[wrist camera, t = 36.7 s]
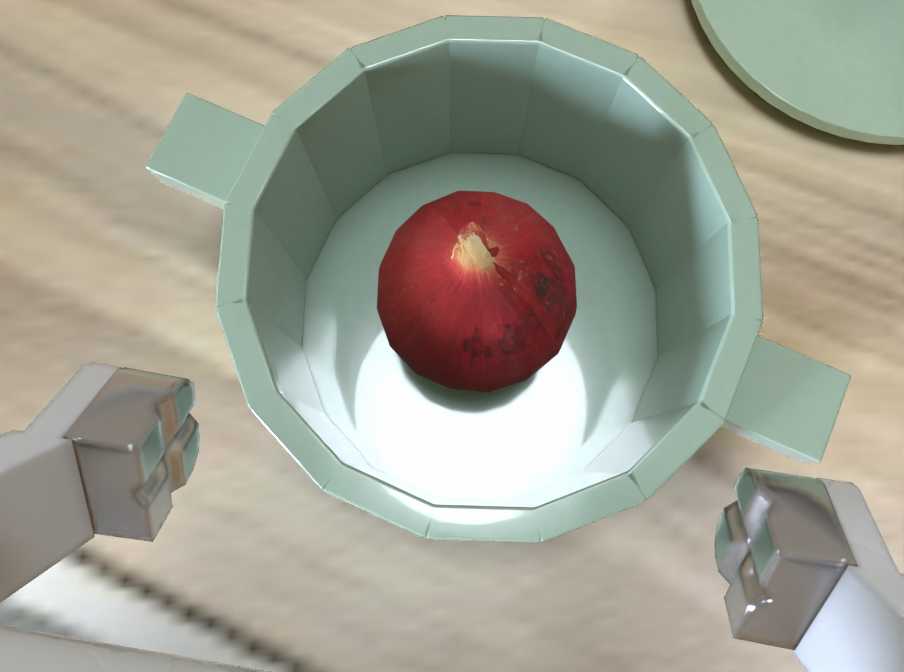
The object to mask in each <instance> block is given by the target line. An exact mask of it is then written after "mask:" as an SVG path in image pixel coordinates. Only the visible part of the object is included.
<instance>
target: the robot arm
mask: <svg viewBox="0 0 904 672" xmlns="http://www.w3.org/2000/svg"><path fill="white" fill-rule="evenodd" d="M195 402H196V395H195V389H194V383H193V382H191V381H190V380H189V379H186V378H180V377H175V376H169V375H164V374H158V373H153V372H147V371H142V370H136V369H131V368H126V367H124V368H121V367H117V366H111V365H106V364H100V363H95V362H91V363H88V364H85V365H83V366H82V367H81V368H80V369H79V370H78V371H77V372H76V373H75V374H74V375H73V377H72V378H71V379H70V380H69V381H68V382H67V383H66V384H65V386H64V387H63V388H62V389H61V390H60V391H59V392H58V393H57V395H56V396H55V397H54V398H53V399H52V400H51V401H50V402H49V404H48V405H47V406H46V407H45V408H44V409H43V410H42V411H41V413H40V414H39V415H38V416H37V417H36V418H35V419H34V420H33V422H32V423H31V424H30V425H29V426H28V427H27V428H26V429H25V431H24V432H22V431H15V430H13V431H10V432H8V433H6V434H3V435H1V436H0V602H2V601H3V600H5V599H6V598H8V597H9V596H10V595H12V594H13V593H15V592H16V591H18V590H19V589H20V588H22V587H23V586H25V585H26V584H28V583H29V582H30V581H32V580H33V579H35V578H36V577H38V576H39V575H41V574H42V573H43V572H45V571H46V570H48V569H49V568H51V567H52V566H53V565H55V564H56V563H58V562H59V561H61V560H62V559H63V558H65V557H66V556H68V555H69V554H71V553H72V552H74V551H75V550H76V549H78V548H79V547H81V546H82V545H84V544H85V543H86V542H88V541H89V540H91V539H92V538H94V534H100V535H108V536H115V537H122V538H129V539H137V540H144V541H151V542H153V541H154V539H155V537H156V535H157V534H158V532H159V530H160V528H161V527H162V525H163V523H164V521H165V520H166V518H167V516H168V514H169V513H170V511H171V509H172V507H173V505H172V497H171V492H173V491H175V490H177V489H178V488H180V487H182V486H184V485H185V484H186V482H187V481H188V479H189V477H190V475H191V473H192V471H193V469H194V466H195V462H196V459H197V455H198V452H199V442H200V431H199V423H198V422H197V421H196V420H195V419H194V418H193V416H192V415H191V414H190V413H189V412H190V410H191V409H192V407H193V405H194V404H195ZM734 490H735V494H736V497H737V501H735V502H734V503H732V504H730V505H729V506H727V507H725V508H724V509H723V512H722V514H721V517H720V519H719V522H718V524H717V530H716V537H715V558H716V563H717V568H718V572H719V573H720V574H721V575H722V576H723V577H724V578H725V579H726V580H727V582H728V583H729V584H730V586H729V589H728V591H727V593H726V595H725V597H724V600H725V604H726V608H727V613H728V617H729V622H730V626H731V630H732V635H733V638H735V639H740V640H745V641H750V642H755V643H761V644H766V645H771V646H776V647H781V648H786V649H792V650H795V651H794V654H795V655H796V657H797V658H798V659H799V661H800V662H801V663H802V664H803V666H804V667H805V668H806V670H807V671H808V672H904V575H903V574H899V572H898V569H897V567H896V565H895V563H894V561H893V559H892V557H891V555H890V553H889V550H888V548H887V546H886V544H885V542H884V540H883V538H882V536H881V533H880V531H879V529H878V527H877V525H876V523H875V521H874V519H873V517H872V514H871V512H870V510H869V508H868V506H867V504H866V502H865V500H864V497H863V495H862V493H861V491H860V489H859V488H858V487H857V486H856V485H855V484H853V483H851V482H844V481H836V480H829V479H822V478H811V477H804V476H798V475H791V474H784V473H778V472H771V471H765V470H758V469H752V468H745V469H744V470H743V471H742V472H741V473H740V475H739V477H738V479H737V481H736V483H735V485H734ZM0 672H270V671H264V670H259V669H253V668H247V667H241V666H235V665H229V664H224V663H218V662H212V661H206V660H200V659H195V658H189V657H183V656H177V655H171V654H165V653H160V652H154V651H148V650H142V649H136V648H130V647H124V646H119V645H113V644H107V643H101V642H95V641H89V640H83V639H77V638H72V637H66V636H60V635H54V634H48V633H42V632H36V631H31V630H25V629H19V628H13V627H7V626H1V625H0Z"/></svg>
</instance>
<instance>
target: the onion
mask: <svg viewBox="0 0 904 672" xmlns="http://www.w3.org/2000/svg"><path fill="white" fill-rule="evenodd" d="M576 309H577V298H576V279H575V266H574V264H573V262H572V260H571V258H570V256H569V254H568V253H567V251H566V249H565V247H564V245H563V243H562V241H561V240H560V238H559V236H558V234H557V232H556V230H555V228H554V227H553V226H552V225H551V224H550V223H549V222H548V221H546V220H545V219H544V218H543V217H542V216H541V215H540V214H539V213H537V212H536V211H535V210H534V209H533V208H532V207H531V206H530V205H528V204H527V203H524V202H521V201H518V200H515V199H513V198H510V197H507V196H504V195H501V194H499V193H496V192H483V191H459V190H458V191H456V192H453V193H451V194H448V195H446V196H444V197H441V198H439V199H437V200H434V201H432V202H429V203H427V204H425V205H422V206H421V207H420V208H419V209H418V210H417V211H416V212H415V213H414V214H413V215H412V216H411V217H410V218H409V219H407V220H406V221H405V222H404V223H403V224H402V225H401V226H400V227H399V228H398V229H397V230H396V231H395V234H394V236H393V238H392V240H391V242H390V244H389V247H388V249H387V251H386V253H385V255H384V257H383V260H382V262H381V264H380V267H379V275H378V294H377V311H378V314H379V317H380V319H381V322H382V325H383V328H384V331H385V334H386V337H387V340H388V342H389V345H390V347H391V348H392V349H393V350H394V351H395V352H396V353H397V354H398V355H399V356H400V357H401V358H402V359H403V360H404V361H405V362H406V363H407V365H408V366H409V367H410V368H411V369H412V370H413V371H414V372H415V373H416V374H417V375H420V376H422V377H424V378H427V379H429V380H431V381H434V382H436V383H438V384H440V385H443V386H445V387H447V388H450V389H456V390H467V391H478V392H491V391H494V390H497V389H501V388H504V387H507V386H510V385H513V384H516V383H520V382H523V381H526V380H527V379H529V378H530V377H531V376H532V375H533V374H534V373H536V372H537V371H538V370H539V369H540V368H542V367H543V366H544V365H545V364H546V363H548V362H549V361H550V360H551V359H552V358H554V357H555V356H556V355H557V354H558V353H559V351H560V349H561V347H562V344H563V342H564V340H565V337H566V335H567V333H568V331H569V328H570V326H571V324H572V321H573V319H574V317H575V314H576Z"/></svg>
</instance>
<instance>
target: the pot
mask: <svg viewBox="0 0 904 672" xmlns="http://www.w3.org/2000/svg"><path fill="white" fill-rule="evenodd" d="M712 125H713V124H712V122H711V121H710V120H709V119H708V118H707V117H706V116H704V115H703V114H702V113H701V112H700V111H699V110H698V109H697V108H696V107H695V106H694V105H692V104H691V103H690V102H689V101H688V100H687V99H686V98H685V97H684V96H683V95H682V94H681V93H679V92H678V91H677V90H676V89H675V88H674V87H673V86H672V85H671V84H670V83H669V82H668V81H666V80H665V79H664V78H663V77H662V76H661V75H660V74H659V73H658V72H657V71H656V70H655V69H653V68H652V67H651V66H650V65H649V64H648V63H647V62H646V61H645V60H644V59H643V58H641V57H638V55H637V54H635V53H633V52H630V51H628V50H625V49H623V48H620V47H618V46H615V45H613V44H610V43H608V42H605V41H603V40H600V39H598V38H595V37H593V36H590V35H588V34H585V33H583V32H580V31H578V30H575V29H573V28H570V27H568V26H565V25H563V24H560V23H558V22H555V21H553V20H550V19H548V18H546V19H545V20H544V18H538V17H497V16H457V15H446V16H445V17H443V16H441V17H438V18H435V19H432V20H429V21H426V22H423V23H421V24H418V25H415V26H412V27H409V28H406V29H403V30H400V31H397V32H395V33H392V34H389V35H386V36H383V37H380V38H377V39H374V40H371V41H368V42H366V43H363V44H360V45H357V46H354V47H352V48H351V49H349V48H348V49H347V50H345V51H344V52H343V53H342V54H341V55H340V56H338V57H337V58H336V59H335V60H334V61H332V62H331V63H330V64H329V65H328V66H326V67H325V68H324V69H323V70H322V71H321V72H319V73H318V74H317V75H316V76H315V77H313V78H312V79H311V80H310V81H309V82H307V83H306V84H305V85H304V86H303V87H302V88H300V89H299V90H298V91H297V92H296V93H294V94H293V95H292V96H291V97H290V98H288V99H287V100H286V101H285V102H284V103H283V104H281V105H280V106H279V107H278V108H277V109H275V110H274V111H273V114H272V115H271V116H270V118H269V120H268V122H267V124H266V125H265V126H264V125H262V124H260V123H257V122H255V121H252V120H250V119H248V118H245V117H243V116H241V115H238V114H236V113H234V112H231V111H229V110H227V109H224V108H222V107H220V106H217V105H215V104H213V103H210V102H208V101H205V100H203V99H201V98H198V97H196V96H194V95H191V94H189V93H186V95H185V96H184V98H183V100H182V102H181V104H180V105H179V107H178V109H177V111H176V113H175V114H174V116H173V118H172V120H171V122H170V123H169V125H168V127H167V129H166V131H165V132H164V134H163V136H162V138H161V140H160V141H159V143H158V145H157V147H156V149H155V150H154V152H153V154H152V156H151V158H150V159H149V161H148V163H147V165H146V169H147V170H148V171H149V172H150V173H151V174H152V175H153V176H154V177H155V178H156V179H157V180H158V181H159V182H161V183H164V184H166V185H168V186H171V187H173V188H175V189H177V190H180V191H182V192H184V193H187V194H189V195H191V196H193V197H196V198H198V199H200V200H203V201H205V202H207V203H209V204H212V205H214V206H216V207H219V208H221V209H223V210H224V212H223V224H222V235H221V246H220V257H219V268H218V279H217V291H216V302H215V303H216V311H217V314H218V317H219V320H220V323H221V326H222V329H223V332H224V335H225V338H226V341H227V344H228V347H229V351H230V354H231V357H232V360H233V363H234V366H235V369H236V372H237V375H238V378H239V381H240V384H241V387H242V390H243V393H244V396H245V399H246V402H247V405H248V406H249V407H250V410H251V411H252V413H253V414H254V415H255V416H256V417H257V418H258V419H259V420H260V422H261V423H262V424H263V425H264V426H265V427H266V428H267V429H268V430H269V432H270V433H271V434H272V435H273V436H274V437H275V438H276V439H277V441H278V442H279V443H280V444H281V445H282V446H283V447H284V448H285V450H286V451H287V452H288V453H289V454H290V455H291V456H292V457H293V458H294V460H295V461H296V462H297V463H298V464H299V465H300V466H301V467H302V469H303V470H304V471H305V472H306V473H307V474H308V475H309V476H310V478H311V479H312V480H313V481H314V482H315V483H316V484H317V485H318V487H319V488H320V489H322V490H324V491H325V492H326V493H328V494H330V495H332V496H335V497H337V498H339V499H341V500H343V501H345V502H347V503H350V504H352V505H354V506H356V507H358V508H360V509H362V510H365V511H367V512H369V513H371V514H373V515H375V516H378V517H380V518H382V519H384V520H386V521H388V522H390V523H393V524H395V525H397V526H399V527H401V528H403V529H405V530H408V531H410V532H412V533H414V534H416V535H418V536H421V537H427V538H428V539H438V540H471V541H504V542H537V543H538V542H540V541H542V542H544V541H547V540H549V539H552V538H554V537H557V536H560V535H562V534H565V533H567V532H570V531H572V530H575V529H577V528H580V527H582V526H585V525H587V524H590V523H592V522H595V521H597V520H600V519H602V518H605V517H608V516H610V515H613V514H615V513H618V512H620V511H623V510H625V509H628V508H630V507H633V506H635V505H638V504H640V503H643V502H645V501H646V500H648V499H650V498H651V497H652V496H653V495H654V494H655V493H656V492H657V491H658V490H659V489H660V488H661V487H662V486H663V485H664V484H665V483H666V482H667V481H668V480H669V479H670V478H671V477H672V476H673V475H674V474H675V473H676V472H677V471H678V470H679V468H680V467H681V466H682V465H683V464H684V463H685V462H686V461H687V460H688V459H689V458H690V457H691V456H692V455H693V454H694V453H695V452H696V451H697V450H698V449H699V448H700V447H701V446H702V445H703V444H704V443H705V442H706V441H707V440H708V439H709V438H710V437H711V436H712V435H713V434H714V433H715V432H716V431H717V430H718V429H719V428H720V427H721V428H723V429H726V430H728V431H730V432H733V433H735V434H737V435H739V436H742V437H744V438H746V439H749V440H751V441H753V442H755V443H758V444H760V445H762V446H765V447H767V448H769V449H771V450H774V451H776V452H778V453H781V454H783V455H785V456H787V457H790V458H792V459H794V460H797V461H799V462H801V463H813V462H821V460H822V457H823V454H824V452H825V449H826V446H827V443H828V440H829V437H830V435H831V432H832V429H833V426H834V423H835V420H836V418H837V415H838V412H839V409H840V406H841V404H842V401H843V398H844V395H845V392H846V389H847V387H848V384H849V381H850V378H851V375H849V374H847V373H845V372H843V371H840V370H838V369H835V368H833V367H831V366H828V365H826V364H824V363H821V362H819V361H817V360H814V359H812V358H810V357H807V356H805V355H803V354H800V353H798V352H796V351H793V350H791V349H788V348H786V347H784V346H781V345H779V344H777V343H774V342H772V341H770V340H767V339H765V338H763V337H760V336H758V334H759V332H760V329H761V326H762V322H761V321H762V320H763V305H762V285H761V264H760V243H759V223H758V218H757V213H756V211H755V209H754V207H753V205H752V202H751V200H750V198H749V196H748V194H747V192H746V190H745V188H744V186H743V184H742V182H741V180H740V177H739V175H738V173H737V171H736V169H735V167H734V165H733V163H732V161H731V159H730V157H729V154H728V152H727V150H726V148H725V146H724V144H723V142H722V140H721V138H720V136H719V134H718V131H717V129H716V127H715V126H712ZM458 190H459V191H483V192H496V193H499V194H501V195H504V196H507V197H510V198H513V199H515V200H518V201H521V202H524V203H527V204H528V205H530V206H531V207H532V208H533V209H534V210H535V211H536V212H537V213H539V214H540V215H541V216H542V217H543V218H544V219H545V220H546V221H548V222H549V223H550V224H551V225H552V226H553V227H554V228H555V230H556V232H557V234H558V236H559V238H560V240H561V241H562V243H563V245H564V247H565V249H566V251H567V253H568V254H569V256H570V258H571V260H572V262H573V264H574V266H575V279H576V298H577V309H576V314H575V317H574V319H573V321H572V324H571V326H570V328H569V331H568V333H567V335H566V337H565V340H564V342H563V344H562V347H561V349H560V351H559V353H558V354H557V355H556V356H555V357H554V358H552V359H551V360H550V361H549V362H548V363H546V364H545V365H544V366H543V367H542V368H540V369H539V370H538V371H537V372H536V373H534V374H533V375H532V376H531V377H530V378H529V379H527V380H526V381H523V382H520V383H516V384H513V385H510V386H507V387H504V388H501V389H497V390H494V391H491V392H478V391H467V390H456V389H450V388H447V387H445V386H443V385H440V384H438V383H436V382H434V381H431V380H429V379H427V378H424V377H422V376H420V375H417V374H416V373H415V372H414V371H413V370H412V369H411V368H410V367H409V366H408V365H407V363H406V362H405V361H404V360H403V359H402V358H401V357H400V356H399V355H398V354H397V353H396V352H395V351H394V350H393V349H392V348H391V347H390V345H389V342H388V340H387V337H386V334H385V331H384V328H383V325H382V322H381V319H380V317H379V314H378V311H377V294H378V275H379V267H380V264H381V262H382V260H383V257H384V255H385V253H386V251H387V249H388V247H389V244H390V242H391V240H392V238H393V236H394V234H395V231H396V230H397V229H398V228H399V227H400V226H401V225H402V224H403V223H404V222H405V221H406V220H407V219H409V218H410V217H411V216H412V215H413V214H414V213H415V212H416V211H417V210H418V209H419V208H420V207H421V206H422V205H425V204H427V203H429V202H432V201H434V200H437V199H439V198H441V197H444V196H446V195H448V194H451V193H453V192H456V191H458Z"/></svg>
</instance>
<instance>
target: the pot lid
mask: <svg viewBox="0 0 904 672" xmlns="http://www.w3.org/2000/svg"><path fill="white" fill-rule="evenodd" d="M691 1H692V5H693V7H694V10H695V12H696V14H697V17H698V19H699V22H700V24H701V26H702V28H703V30H704V32H705V33H706V35H707V37H708V39H709V40H710V42H711V44H712V46H713V47H714V49H715V50H716V51H717V53H718V54H719V55H720V56H721V58H722V59H723V60H724V62H725V63H726V64H727V66H728V67H729V68H730V69H731V70H732V71H733V72H734V73H735V74H736V75H737V76H738V77H739V78H740V79H741V80H742V81H743V82H744V83H745V84H746V85H747V86H748V87H749V88H750V89H751V90H753V91H754V92H755V93H756V94H758V95H759V96H760V97H761V98H763V99H764V100H765V101H766V102H768V103H769V104H771V105H772V106H774V107H776V108H777V109H779V110H781V111H782V112H784V113H785V114H787V115H789V116H790V117H792V118H794V119H796V120H799V121H801V122H803V123H805V124H807V125H809V126H811V127H814V128H816V129H819V130H822V131H825V132H828V133H831V134H834V135H837V136H840V137H843V138H848V139H853V140H858V141H863V142H868V143H878V144H890V145H904V0H691Z"/></svg>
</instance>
